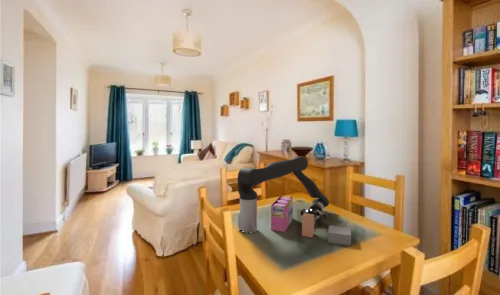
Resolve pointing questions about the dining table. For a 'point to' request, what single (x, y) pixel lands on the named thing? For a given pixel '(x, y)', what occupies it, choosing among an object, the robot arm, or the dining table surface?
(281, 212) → the gum box
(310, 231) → the terracotta block
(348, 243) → the grey base block
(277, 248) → the dining table surface
